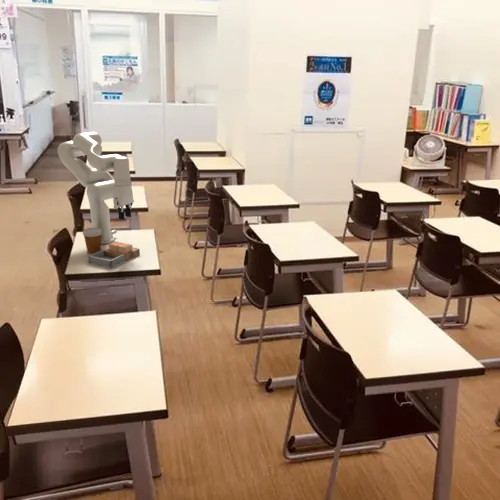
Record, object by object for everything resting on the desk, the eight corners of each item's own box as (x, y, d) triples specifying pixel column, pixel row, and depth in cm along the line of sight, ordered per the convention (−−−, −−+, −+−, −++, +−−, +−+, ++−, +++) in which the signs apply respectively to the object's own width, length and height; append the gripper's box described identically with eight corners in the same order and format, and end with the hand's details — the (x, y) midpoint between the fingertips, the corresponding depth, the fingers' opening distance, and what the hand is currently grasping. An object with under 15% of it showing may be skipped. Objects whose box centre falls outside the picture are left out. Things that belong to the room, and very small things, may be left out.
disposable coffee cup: (98, 256, 267) (96, 233, 263) (81, 255, 269) (78, 232, 265) (107, 250, 276) (105, 227, 272) (90, 248, 278) (88, 226, 274)
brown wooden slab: (118, 249, 277) (118, 244, 276) (139, 254, 271) (139, 248, 270) (104, 256, 267) (103, 250, 266) (125, 261, 262) (125, 255, 261)
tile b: (124, 248, 270) (124, 243, 269) (132, 250, 267) (132, 244, 266) (117, 251, 265) (117, 245, 264) (125, 253, 263) (125, 247, 262)
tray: (102, 256, 267) (102, 249, 266) (125, 261, 261) (124, 254, 260) (88, 262, 259) (87, 256, 258) (111, 268, 253) (110, 261, 252)
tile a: (116, 246, 272) (115, 241, 271) (123, 248, 270) (123, 242, 269) (109, 249, 268) (108, 244, 267) (117, 251, 266) (116, 245, 265)
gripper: (127, 178, 273) (129, 212, 279) (104, 184, 259) (107, 221, 265) (139, 179, 270) (141, 214, 276) (117, 186, 256) (119, 223, 262)
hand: (125, 217), depth 271 cm, fingers open, 4 cm apart
